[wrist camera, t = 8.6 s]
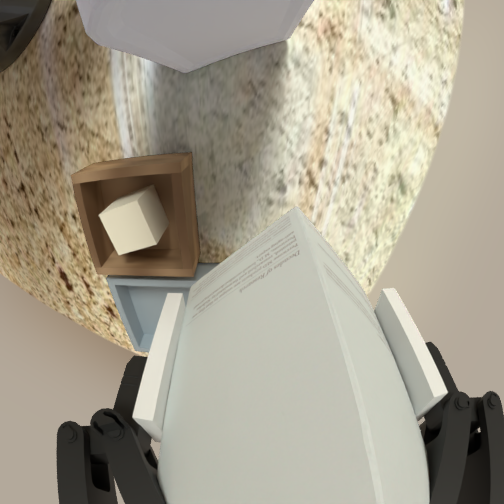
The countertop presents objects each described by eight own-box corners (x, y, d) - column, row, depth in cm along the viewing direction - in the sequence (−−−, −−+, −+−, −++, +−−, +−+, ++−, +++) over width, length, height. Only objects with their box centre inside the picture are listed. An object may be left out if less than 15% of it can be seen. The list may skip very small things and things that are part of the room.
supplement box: (186, 284, 15) (139, 533, 4) (297, 200, 12) (400, 548, 1) (270, 348, 18) (281, 535, 7) (367, 292, 15) (441, 498, 4)
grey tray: (141, 334, 33) (135, 350, 31) (116, 262, 27) (106, 278, 25) (226, 339, 33) (224, 357, 31) (219, 263, 27) (216, 281, 25)
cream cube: (134, 233, 25) (118, 255, 22) (118, 197, 23) (98, 215, 20) (169, 223, 25) (156, 244, 21) (153, 184, 23) (136, 200, 19)
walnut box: (112, 253, 27) (97, 274, 23) (93, 163, 22) (70, 175, 18) (200, 253, 27) (193, 276, 23) (191, 152, 22) (180, 162, 18)
